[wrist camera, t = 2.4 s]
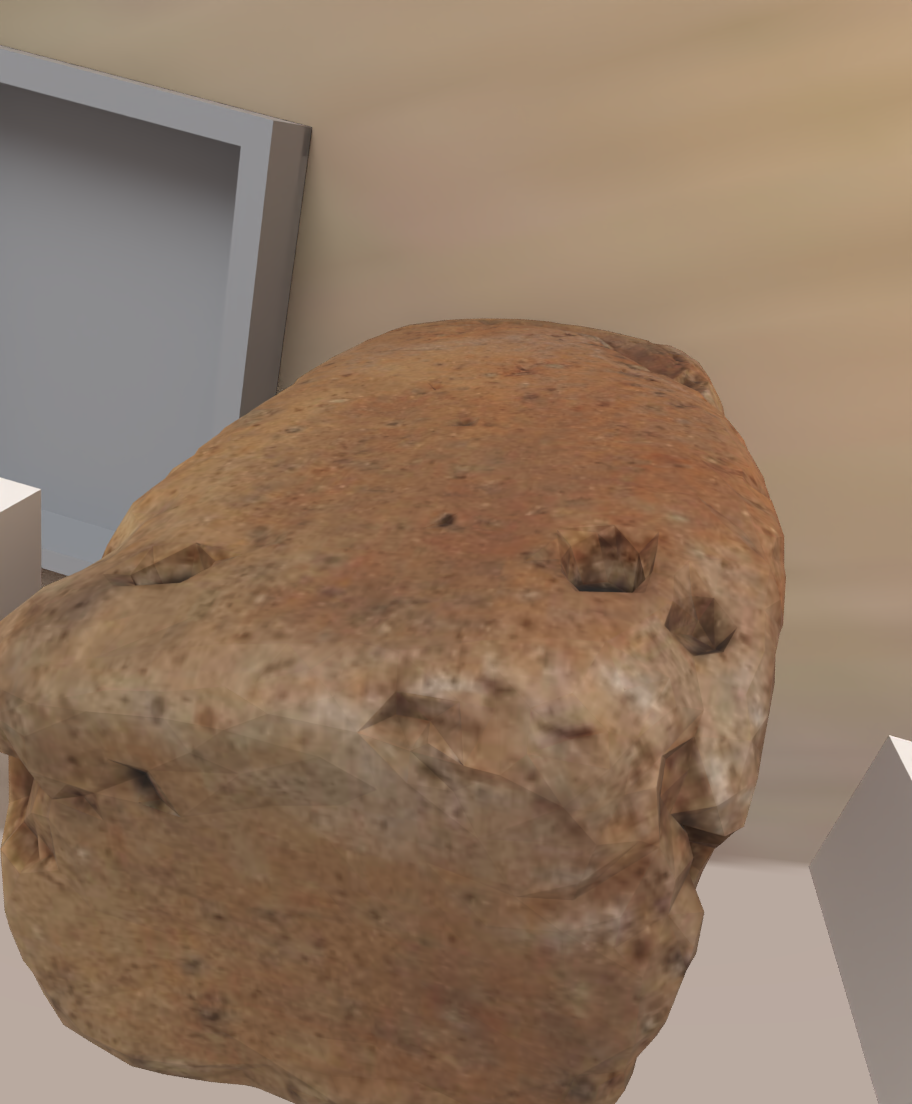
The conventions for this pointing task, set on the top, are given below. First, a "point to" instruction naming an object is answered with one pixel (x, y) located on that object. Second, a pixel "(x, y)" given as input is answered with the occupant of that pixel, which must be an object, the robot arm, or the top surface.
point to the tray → (132, 284)
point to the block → (401, 726)
